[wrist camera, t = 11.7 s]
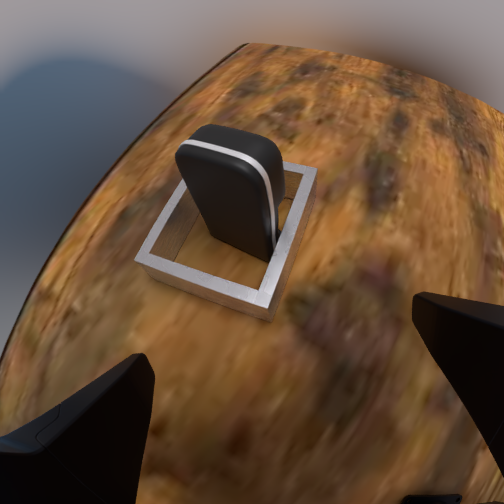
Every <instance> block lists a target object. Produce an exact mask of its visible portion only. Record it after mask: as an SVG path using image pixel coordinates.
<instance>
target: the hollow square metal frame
mask: <svg viewBox="0 0 504 504" xmlns="http://www.w3.org/2000/svg"><path fill="white" fill-rule="evenodd" d="M283 167H284V175H285V196H284V197H285V198H289V199H293V200H294V201H293V204H292V206H291V209H290V212H289V214H288V217H287V220H286V222H285V225H284V227H283V230H282V233H281V235H280V238H279V240H278V243H277V245H276V248H275V251H274V253H273V256H272V258H271V261H270V263H269V266H268V268H267V271H266V273H265V276H264V278H263V281H262V283H261V286H260V288H259V290H255V289H252V288H249V287H246V286H243V285H240V284H237V283H234V282H231V281H228V280H225V279H222V278H219V277H216V276H213V275H210V274H207V273H204V272H201V271H198V270H195V269H192V268H190V267H187V266H184V265H181V264H178V263H175V262H173V261H174V259H175V257H176V255H177V253H178V252H179V250H180V248H181V246H182V244H183V242H184V240H185V238H186V236H187V235H188V233H189V231H190V229H191V227H192V225H193V224H194V222H195V220H196V218H197V216H198V215H199V213H200V211H199V209H198V207H197V206H196V204H195V202H194V200H193V198H192V196H191V194H190V192H189V190H188V188H187V186H186V184H185V182H184V180H183V179H182V181H181V182H180V184H179V185H178V187H177V188H176V190H175V192H174V193H173V195H172V196H171V198H170V199H169V201H168V203H167V204H166V206H165V208H164V209H163V211H162V212H161V214H160V216H159V217H158V219H157V221H156V223H155V224H154V226H153V228H152V229H151V231H150V233H149V235H148V236H147V238H146V240H145V242H144V243H143V245H142V247H141V249H140V250H139V252H138V254H137V256H136V258H135V261H136V262H137V263H138V264H139V265H140V266H141V267H142V268H143V269H144V270H145V271H146V272H147V273H148V274H149V275H150V276H152V277H153V278H154V279H155V280H158V281H160V282H163V283H165V284H168V285H170V286H173V287H175V288H178V289H180V290H183V291H185V292H188V293H191V294H193V295H196V296H198V297H201V298H204V299H206V300H209V301H212V302H215V303H217V304H220V305H223V306H226V307H228V308H231V309H234V310H237V311H240V312H242V313H245V314H248V315H251V316H254V317H257V318H260V319H263V320H266V321H269V322H272V320H273V317H274V315H275V312H276V309H277V307H278V304H279V301H280V299H281V296H282V293H283V290H284V288H285V285H286V282H287V279H288V277H289V274H290V271H291V268H292V265H293V263H294V260H295V257H296V254H297V251H298V248H299V245H300V243H301V240H302V237H303V234H304V231H305V228H306V225H307V222H308V219H309V216H310V213H311V210H312V207H313V204H314V201H315V198H316V187H317V171H318V169H317V168H313V167H308V166H304V165H299V164H294V163H289V162H284V161H283Z"/></svg>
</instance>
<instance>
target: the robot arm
mask: <svg viewBox="0 0 504 504" xmlns="http://www.w3.org/2000/svg"><path fill="white" fill-rule="evenodd" d="M412 321H413V323H414V325H415V327H416V329H417V330H418V332H419V334H420V336H421V338H422V339H423V341H424V343H425V345H426V347H427V348H428V350H429V352H430V354H431V355H432V357H433V358H434V360H435V361H436V363H437V364H438V366H439V367H440V369H441V370H442V372H443V373H444V375H445V376H446V378H447V379H448V381H449V382H450V384H451V385H452V387H453V388H454V390H455V391H456V393H457V395H458V396H459V398H460V399H461V401H462V403H463V404H464V406H465V407H466V409H467V411H468V412H469V414H470V416H471V417H472V419H473V421H474V422H475V424H476V426H477V428H478V429H479V431H480V433H481V435H482V436H483V438H484V440H485V442H486V444H487V446H489V447H488V448H489V450H490V452H491V453H492V455H493V457H494V459H495V461H496V463H497V465H498V467H499V469H500V471H501V473H502V475H503V477H504V306H500V305H495V304H489V303H484V302H478V301H473V300H467V299H462V298H457V297H451V296H446V295H440V294H435V293H430V292H421V293H418V294H415V295H414V296H413V302H412ZM154 384H155V374H154V371H153V369H152V367H151V365H150V363H149V361H148V359H147V357H146V355H145V354H143V353H137V354H132V355H130V356H129V357H128V358H126V359H125V360H123V361H122V362H120V363H119V364H117V365H116V366H114V367H113V368H112V369H110V370H109V371H107V372H106V373H104V374H103V375H101V376H100V377H98V378H97V379H95V380H94V381H92V382H91V383H89V384H88V385H87V386H85V387H84V388H82V389H81V390H79V391H78V392H76V393H75V394H73V395H72V396H70V397H69V398H67V399H66V400H64V401H63V402H61V404H58V405H57V406H55V407H54V408H52V409H51V410H49V411H47V412H46V413H44V414H43V415H41V416H39V417H38V418H36V419H34V420H32V421H31V422H29V423H27V424H25V425H23V426H22V427H20V428H18V429H16V430H14V431H12V432H11V433H9V434H7V435H5V436H2V437H0V504H135V503H136V496H137V489H138V483H139V477H140V471H141V465H142V460H143V454H144V449H145V444H146V439H147V434H148V429H149V424H150V419H151V413H152V404H153V394H154ZM457 498H458V499H457ZM409 499H411V500H410V501H409V502H407V501H408V500H409ZM456 499H457V500H456ZM461 500H462V496H461V495H459V494H455V495H408V496H406V497H405V498H404V499H403V501H402V503H401V504H460V502H461ZM479 504H504V503H503V502H497V501H493V502H487V503H479Z"/></svg>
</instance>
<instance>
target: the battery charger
mask: <svg viewBox="0 0 504 504" xmlns="http://www.w3.org/2000/svg"><path fill="white" fill-rule="evenodd" d="M175 160H176V163H177V166H178V168H179V171H180V173H181V175H182V177H183V180H184V182H185V184H186V186H187V188H188V190H189V192H190V194H191V196H192V198H193V200H194V202H195V204H196V206H197V207H198V209H199V211H200V213H201V215H202V217H203V219H204V221H205V223H206V225H207V227H208V229H209V231H210V233H211V235H212V236H214V237H216V238H218V239H220V240H222V241H224V242H227V243H229V244H231V245H233V246H235V247H237V248H239V249H241V250H243V251H246V252H248V253H250V254H252V255H254V256H256V257H259V258H261V259H263V260H265V261H268V262H270V261H271V258H272V256H273V253H274V251H275V248H276V245H277V243H278V240H279V238H280V235H281V231H280V230H279V229H278V206H279V205H280V203H281V202H282V200H283V198H284V196H285V175H284V167H283V160H282V156H281V153H280V151H279V149H278V147H277V146H276V144H275V143H274V142H273V141H271V140H269V139H268V138H265V137H263V136H260V135H257V134H253V133H250V132H246V131H242V130H238V129H234V128H229V127H225V126H219V125H213V124H209V125H205V126H202V127H200V128H199V129H198V130H197V131H196V132H195V133H194V134H193V135H192V136H191V137H190V138H189V139H188V140H185V141H184V142H183V143H182V144H181V145H180V146H179V148H178V150H177V152H176V153H175Z"/></svg>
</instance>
